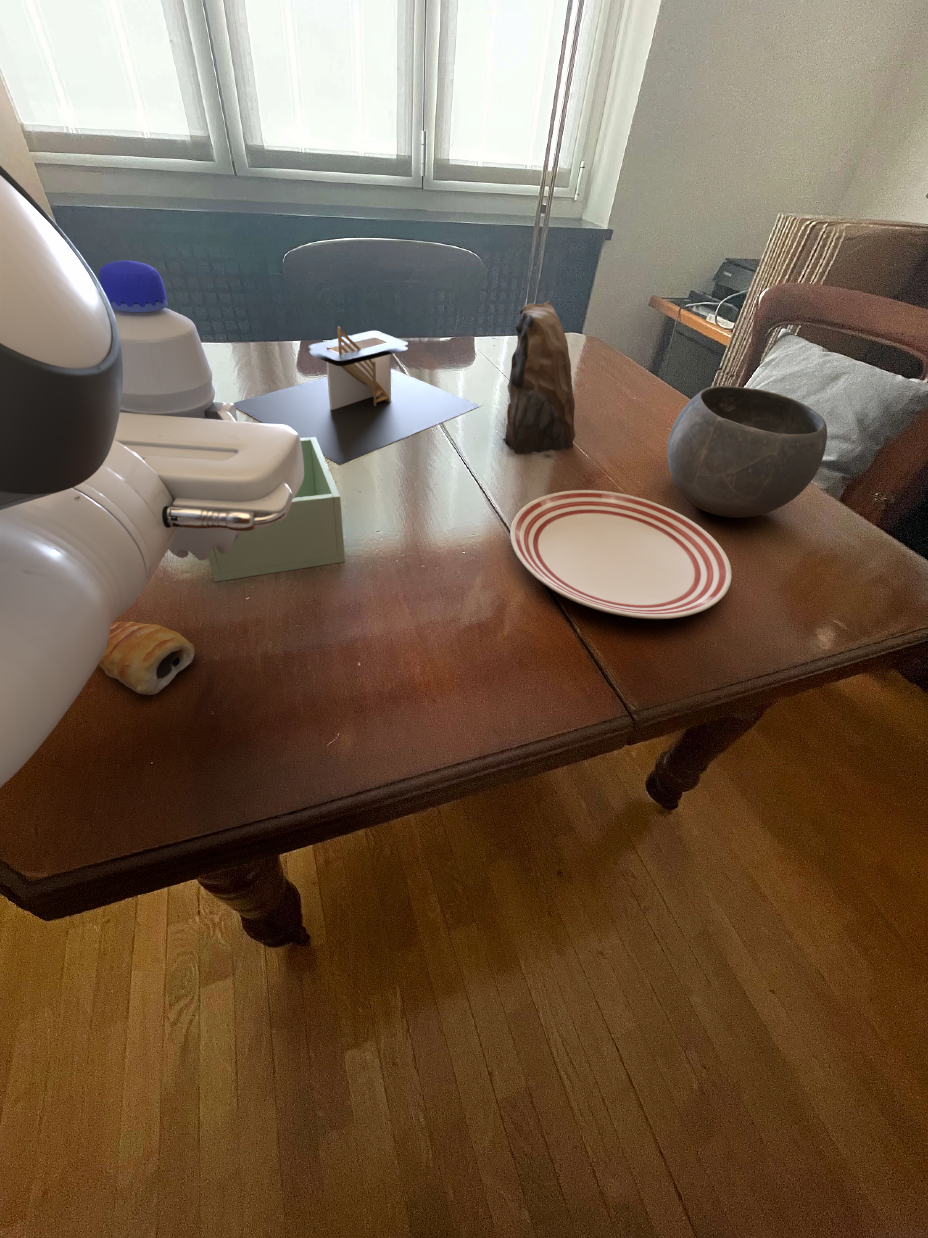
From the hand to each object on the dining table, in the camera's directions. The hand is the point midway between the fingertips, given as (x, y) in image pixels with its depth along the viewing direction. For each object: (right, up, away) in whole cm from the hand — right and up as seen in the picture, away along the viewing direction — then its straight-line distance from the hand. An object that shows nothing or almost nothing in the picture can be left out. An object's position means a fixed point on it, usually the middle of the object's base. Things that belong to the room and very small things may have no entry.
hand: (171, 408), depth 38 cm
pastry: (-10, -19, +13) cm, 25 cm away
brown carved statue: (+33, +16, +56) cm, 67 cm away
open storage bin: (-3, -5, +30) cm, 30 cm away
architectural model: (+2, +24, +60) cm, 65 cm away
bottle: (-1, -9, +7) cm, 11 cm away
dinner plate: (+40, -8, +32) cm, 52 cm away
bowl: (+60, +3, +46) cm, 75 cm away
